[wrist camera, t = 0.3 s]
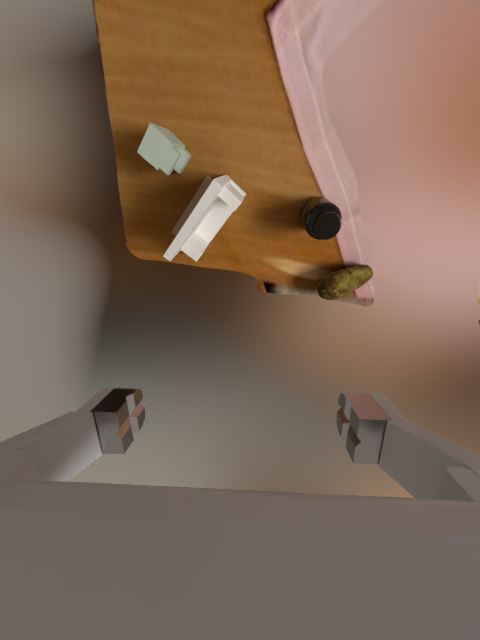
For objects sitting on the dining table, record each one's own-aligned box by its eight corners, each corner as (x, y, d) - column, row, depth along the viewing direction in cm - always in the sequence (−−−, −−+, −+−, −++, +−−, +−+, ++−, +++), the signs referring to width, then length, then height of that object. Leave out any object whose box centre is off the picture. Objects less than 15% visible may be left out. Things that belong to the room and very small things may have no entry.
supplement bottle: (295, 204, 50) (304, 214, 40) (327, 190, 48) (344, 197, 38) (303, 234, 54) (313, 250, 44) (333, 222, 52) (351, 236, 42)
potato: (360, 291, 61) (372, 307, 54) (311, 289, 62) (317, 304, 55) (370, 261, 56) (385, 274, 50) (317, 259, 57) (324, 272, 50)
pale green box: (164, 126, 44) (145, 118, 37) (193, 153, 46) (180, 151, 39) (152, 150, 47) (132, 148, 39) (180, 175, 49) (166, 177, 41)
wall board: (218, 167, 47) (203, 168, 34) (246, 193, 50) (241, 204, 37) (179, 228, 55) (153, 249, 42) (204, 249, 57) (187, 274, 44)
